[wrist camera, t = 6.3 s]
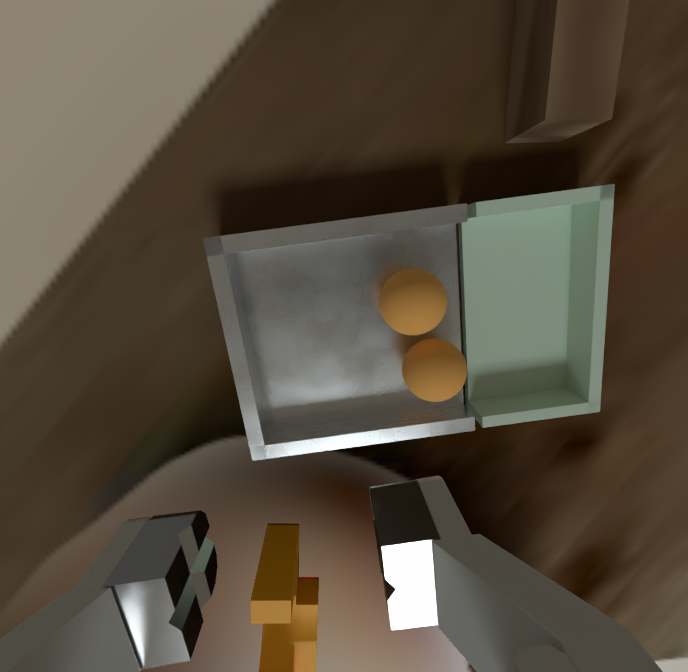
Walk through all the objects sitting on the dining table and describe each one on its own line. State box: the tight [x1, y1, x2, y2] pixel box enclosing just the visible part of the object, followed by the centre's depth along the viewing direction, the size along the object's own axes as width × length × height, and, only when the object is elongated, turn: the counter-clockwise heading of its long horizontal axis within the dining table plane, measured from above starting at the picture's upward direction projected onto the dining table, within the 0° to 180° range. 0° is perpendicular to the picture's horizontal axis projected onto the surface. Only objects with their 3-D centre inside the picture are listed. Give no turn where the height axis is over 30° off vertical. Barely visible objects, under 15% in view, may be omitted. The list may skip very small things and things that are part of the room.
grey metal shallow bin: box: [203, 203, 475, 461], centre depth 23 cm, size 15×14×3 cm
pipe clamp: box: [251, 523, 319, 672], centre depth 27 cm, size 12×4×6 cm, turn 177°
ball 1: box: [379, 268, 447, 335], centre depth 21 cm, size 4×4×4 cm
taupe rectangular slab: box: [504, 0, 629, 143], centre depth 19 cm, size 4×10×4 cm, turn 2°
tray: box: [458, 184, 615, 428], centre depth 23 cm, size 8×14×3 cm, turn 7°
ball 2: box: [402, 338, 467, 402], centre depth 22 cm, size 4×4×4 cm
